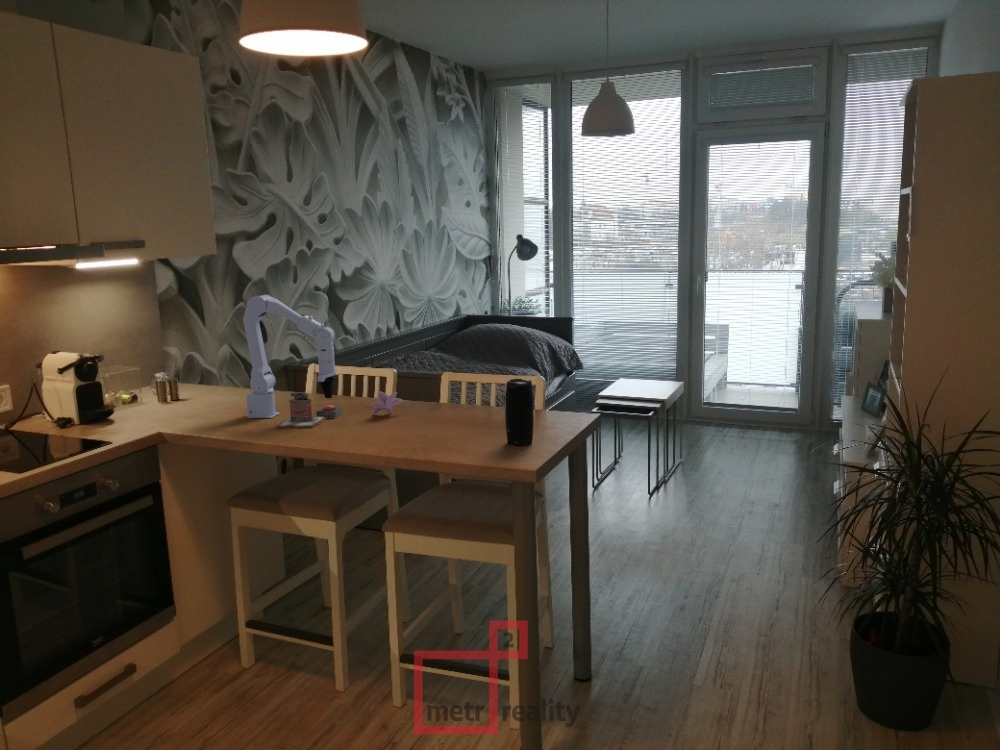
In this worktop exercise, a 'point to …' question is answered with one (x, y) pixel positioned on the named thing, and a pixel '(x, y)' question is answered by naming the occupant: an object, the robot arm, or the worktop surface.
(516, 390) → the portable speaker
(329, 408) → the button
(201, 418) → the worktop surface
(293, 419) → the lighter
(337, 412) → the button housing
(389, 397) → the lily
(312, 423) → the board
